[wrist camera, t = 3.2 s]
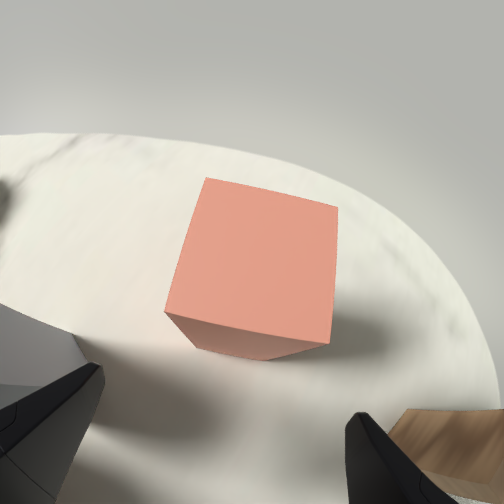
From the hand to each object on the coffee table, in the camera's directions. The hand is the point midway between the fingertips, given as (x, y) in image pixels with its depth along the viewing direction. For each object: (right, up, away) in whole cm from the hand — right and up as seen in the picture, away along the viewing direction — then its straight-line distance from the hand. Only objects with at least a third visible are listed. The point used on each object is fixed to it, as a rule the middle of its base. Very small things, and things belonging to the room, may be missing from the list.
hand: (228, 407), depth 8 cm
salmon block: (0, 0, +13) cm, 13 cm away
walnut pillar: (+14, -12, +9) cm, 21 cm away
